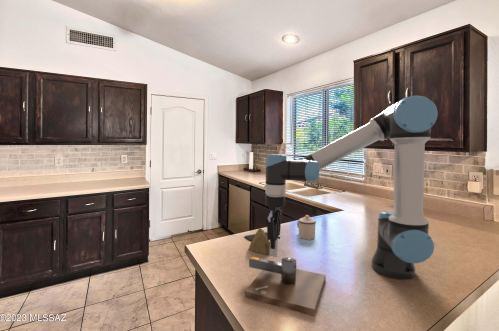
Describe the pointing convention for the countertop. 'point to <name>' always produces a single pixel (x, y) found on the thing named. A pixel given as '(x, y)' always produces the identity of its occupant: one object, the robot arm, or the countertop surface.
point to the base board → (288, 290)
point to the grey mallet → (277, 267)
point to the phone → (252, 236)
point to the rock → (260, 243)
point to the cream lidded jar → (306, 227)
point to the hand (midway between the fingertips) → (273, 255)
